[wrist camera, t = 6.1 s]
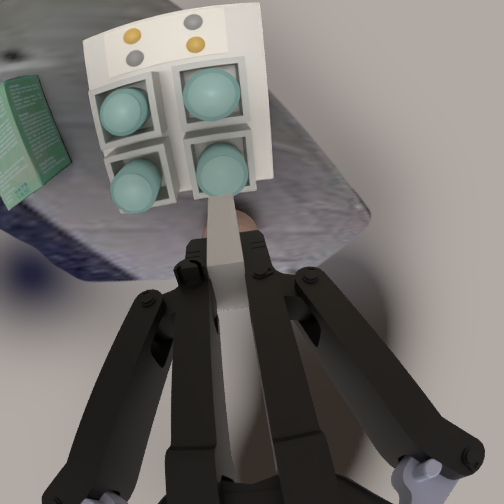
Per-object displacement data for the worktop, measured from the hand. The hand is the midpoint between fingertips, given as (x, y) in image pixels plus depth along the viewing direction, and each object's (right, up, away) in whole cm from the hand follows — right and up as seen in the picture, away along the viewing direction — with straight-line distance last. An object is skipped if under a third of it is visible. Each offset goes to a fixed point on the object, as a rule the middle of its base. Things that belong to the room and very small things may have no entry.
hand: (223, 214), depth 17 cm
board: (-6, +14, +8) cm, 17 cm away
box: (-25, +13, +6) cm, 29 cm away
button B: (-9, +5, +7) cm, 13 cm away
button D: (-1, +6, +8) cm, 10 cm away
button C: (-2, +11, +4) cm, 12 cm away
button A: (-10, +12, +5) cm, 16 cm away
